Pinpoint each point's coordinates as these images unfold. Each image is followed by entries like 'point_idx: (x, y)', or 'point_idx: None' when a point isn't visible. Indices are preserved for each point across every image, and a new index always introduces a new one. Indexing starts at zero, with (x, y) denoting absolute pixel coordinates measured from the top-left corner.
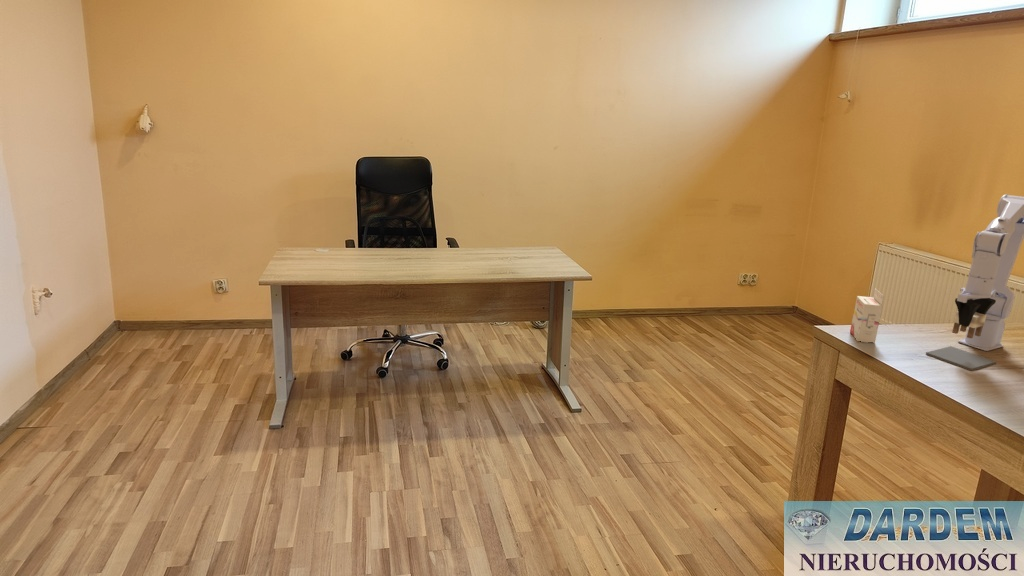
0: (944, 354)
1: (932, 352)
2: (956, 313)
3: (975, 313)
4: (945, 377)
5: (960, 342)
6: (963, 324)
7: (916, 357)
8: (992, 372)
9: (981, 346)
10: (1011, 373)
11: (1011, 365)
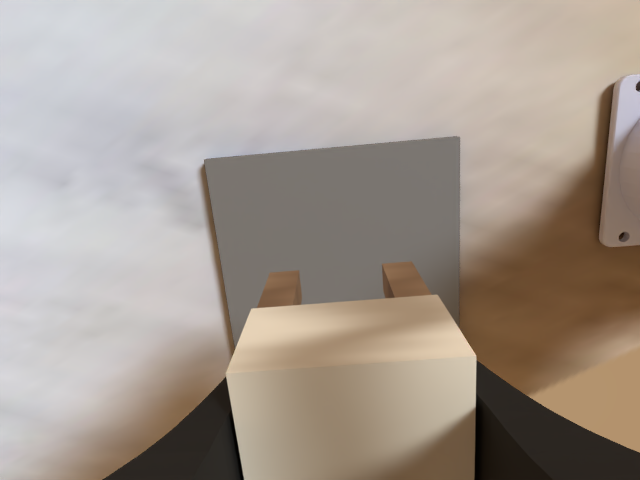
0: (281, 217)
1: (241, 172)
2: (229, 364)
3: (412, 477)
4: (47, 381)
5: (613, 99)
6: None
7: (113, 172)
8: None
9: (630, 209)
10: None
11: None
